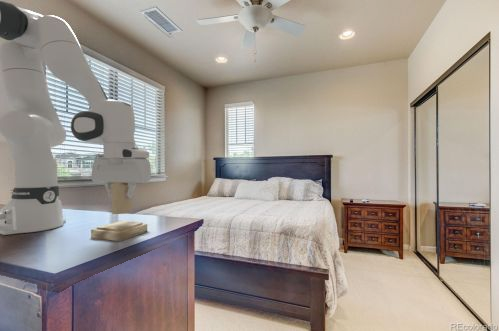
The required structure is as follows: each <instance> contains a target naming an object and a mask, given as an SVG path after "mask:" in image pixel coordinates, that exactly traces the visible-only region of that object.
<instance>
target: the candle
mask: <svg viewBox="0 0 499 331" xmlns="http://www.w3.org/2000/svg"><path fill="white" fill-rule="evenodd" d="M128 189H129V187H128V183H118V182H114V183H113V184H112V185H111V197H110V198H111V199H110V200H111V201H110V202H111V213H112V215H122V214H129V213H131V212H132V210H133V208H132V198H126V197H125V196H126V194H125V192H128Z"/></svg>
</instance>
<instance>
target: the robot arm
mask: <svg viewBox="0 0 499 331" xmlns="http://www.w3.org/2000/svg"><path fill="white" fill-rule="evenodd" d="M0 38H1V39H4V41H3V42H2V43H1V44H0V69H1V74H2V78H3V79H2V80H3V83H4V87H5V92H6V96H7V98H8V100H9V101H10V103H12V105H13V106H14V108H15V109H16V110H13V111H9V112H6V113H4V114H3V115H2V116H1V117H0V134H1V136H2V137H3V138H4V139H5V140H6V142H7V145H8V147H9V149H10V153H11V155H12V158H13V163H14V177H15V178H14V181H15V183H14V184H15V186H14V188H13V189H10V191H12V192H10V194H11V197H10V198H11V199H10V200H9V202H8V203H7V204H5V205H4V206H3V207H2V208H0V235H3V236H5V235H6V236H7V235H14V234H16V235H17V234H24V233H25V234H26V233H34V232H42V231H48V230H51V229H52V230H53V229H56V228H59V227H61V226H63V225H64V224H65V223H66V222H67V220H66V218H64V213H63V206H62V201H61V200H60V199H59V196H60V186H59V185H58V164H57V161H56V160H55V158H54V155H53V153H52V148H54V147H58V146H60V145H62V144H63V143H64V142H65V141H66V138H67V131H66V129H65V128H64V126H63V125H62V123H61V120H60V116H59V115H58V112H57V110H56V109H55V106H54V104H53V101H52V98H51V96H50V91H49V87H48V83H47V79H46V74H45V73H46V72H45V70H44V65H43V62H44V64H45V66H46V67H47V69H48V70H49V72H50V73H51V74H52V75H53V76H54V77H55V78H56V79H59V80H60V81H62V82H63V83H65V84H66V85H69V86H70V87H71V88H72V89H74V90H75V91H76V92H78V93H79V94H81V95H82V97H83V98H84V99H85V100H86V101H87V103H88V105H89V107H90V109H88V110H87V109H86V110H81V111H78V112H77V113H76V114H75V115H74V116H73V118H72V119H71V122H70V130H71V133H72V135H73V136H74V138H75V139H77V140H78V141H82V142H84V143H90V144H97V145H103V153H97V155H96V156H94V158H93V162H92V166H91V180H92V182H93V183H102V184H103V183H104V188H105V190H106V192H107V197H108V198H111V185H112V184H113V183H114V182H118V183H128V187H129V189H128V192H125V194H126V196H125V197H126V198H131V199H132V198H134V193H135V190H136V188H137V186H138V184H146V183H149V182H150V181H151V179H152V170H151V168H152V167H151V163H150V161H149V158H150V152H149V151H147V150H145V149H142V148H139V147H137V146H136V140H135V132H136V120H135V112H134V109H133V106H132V105H130V104H129V103H127V102H124V101H120V100H118V99H117V100H116V99H111V98H110V99H108V96H107V95H106V92H105V91H104V89H103V87H102V85H101V83H100V82H99V80H98V78H97V76H96V75H95V73H94V72H93V70H92V68H91V66H90V64H89V62H88V60H87V58H86V56H85V54H84V52H83V49H82V47H81V44H80V42H79V40H78V39H77V36H76V35H75V33H74V31H73V30H72V28H71V26H70V25H69V24H68V22H66V21H65V20H64V19H62V18H60V17H59V16H55V15H49V14H48V15H47V14H45V15H42V14H40V13H36V12H35V11H34V12H33V11H31V10H28V9H25V8H22V7H19V6H16V5H15V4H13V3H10V2H7V1H3V0H2V1H1V0H0Z"/></svg>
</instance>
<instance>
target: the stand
mask: <svg viewBox="0 0 499 331" xmlns="http://www.w3.org/2000/svg"><path fill="white" fill-rule="evenodd" d="M146 231H147V232H148V223H143V222H139V221H131V220H128V221H127V220H118V221H115V222H111V223H107V224H103V225H99V226H96V227H95V228H92V229H91V230H90V239H97V240H98V239H99V240H108V241H109V240H110V241H114V242H115V241H116V242H122V241H125V240H127V239H130V238H133V237H135V236H138V235H141V234H144V233H147V232H146Z"/></svg>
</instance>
